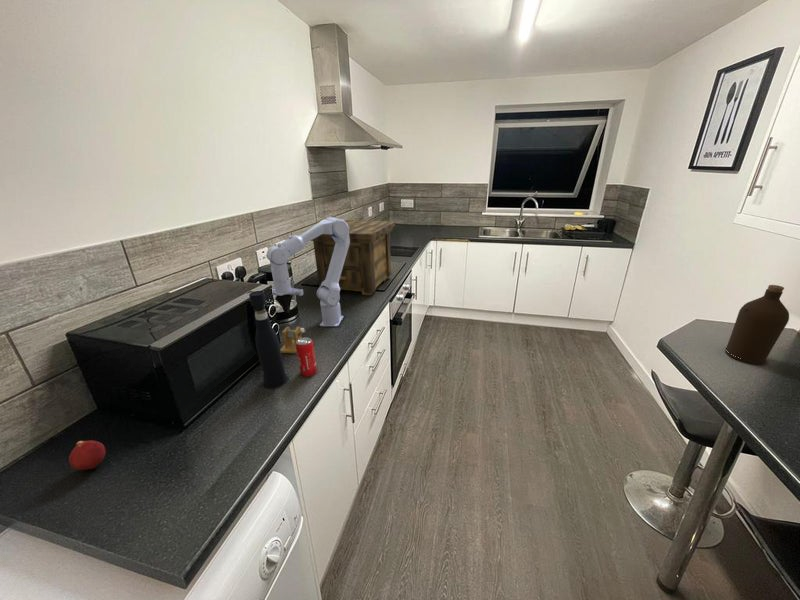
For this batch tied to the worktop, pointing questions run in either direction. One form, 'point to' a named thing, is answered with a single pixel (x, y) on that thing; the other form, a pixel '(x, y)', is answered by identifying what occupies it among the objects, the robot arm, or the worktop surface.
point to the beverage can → (306, 356)
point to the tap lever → (290, 332)
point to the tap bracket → (290, 340)
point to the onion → (87, 455)
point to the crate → (358, 256)
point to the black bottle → (267, 344)
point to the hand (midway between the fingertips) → (287, 312)
